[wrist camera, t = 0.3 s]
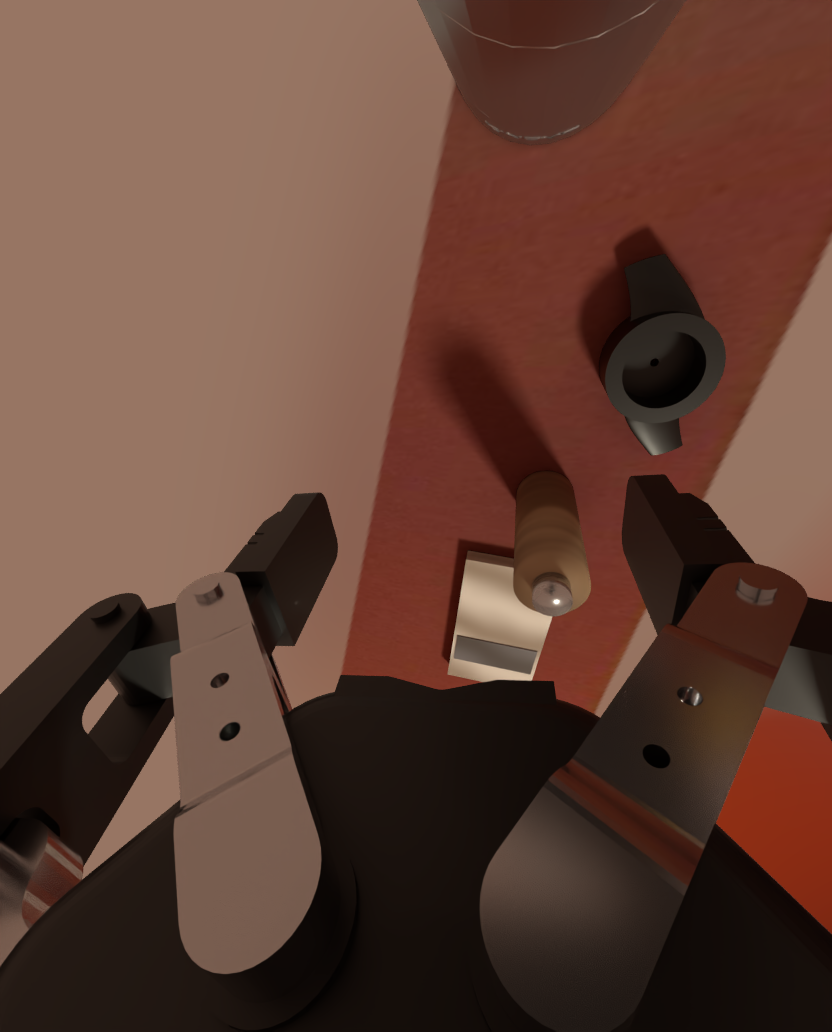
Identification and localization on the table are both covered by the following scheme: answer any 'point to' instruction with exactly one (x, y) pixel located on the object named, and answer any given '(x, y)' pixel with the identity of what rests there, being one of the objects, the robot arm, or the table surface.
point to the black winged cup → (660, 355)
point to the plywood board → (494, 624)
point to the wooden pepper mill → (549, 546)
